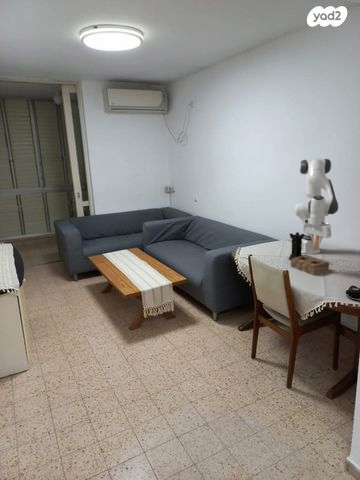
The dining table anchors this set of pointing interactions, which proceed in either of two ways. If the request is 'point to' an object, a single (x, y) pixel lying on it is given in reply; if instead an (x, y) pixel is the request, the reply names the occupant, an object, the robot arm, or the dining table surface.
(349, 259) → the dining table surface
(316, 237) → the pin
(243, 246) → the dining table surface
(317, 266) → the bore block
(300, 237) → the chess piece
